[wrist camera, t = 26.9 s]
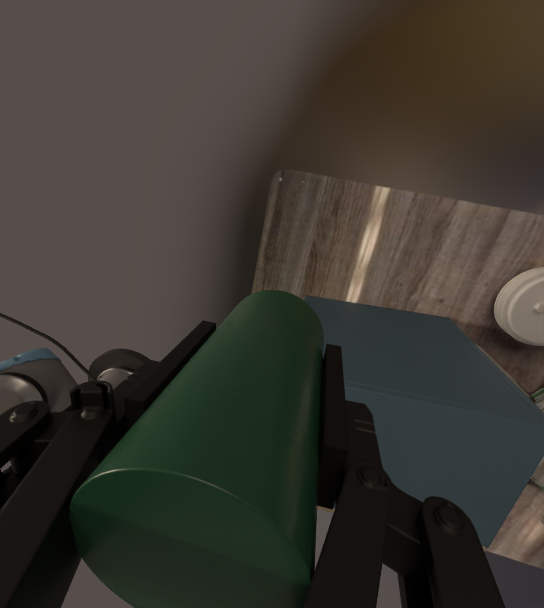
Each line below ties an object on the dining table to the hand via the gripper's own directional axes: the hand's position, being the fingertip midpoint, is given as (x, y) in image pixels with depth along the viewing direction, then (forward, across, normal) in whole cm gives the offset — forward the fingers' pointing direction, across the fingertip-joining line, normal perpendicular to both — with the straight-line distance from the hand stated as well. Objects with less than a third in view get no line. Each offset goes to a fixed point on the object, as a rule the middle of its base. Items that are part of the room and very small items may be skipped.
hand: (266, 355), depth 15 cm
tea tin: (+2, 0, 0) cm, 2 cm away
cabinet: (+39, +14, -18) cm, 45 cm away
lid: (+39, +38, -4) cm, 55 cm away
